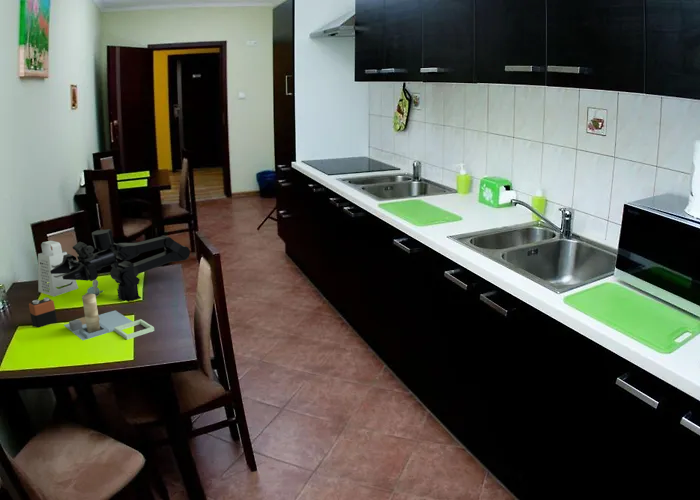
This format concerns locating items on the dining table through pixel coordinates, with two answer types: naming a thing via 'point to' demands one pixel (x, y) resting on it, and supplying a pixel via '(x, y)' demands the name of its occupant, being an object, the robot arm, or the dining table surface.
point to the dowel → (91, 313)
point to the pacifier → (94, 289)
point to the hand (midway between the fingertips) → (56, 275)
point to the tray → (135, 334)
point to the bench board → (106, 324)
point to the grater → (53, 261)
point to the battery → (42, 312)
